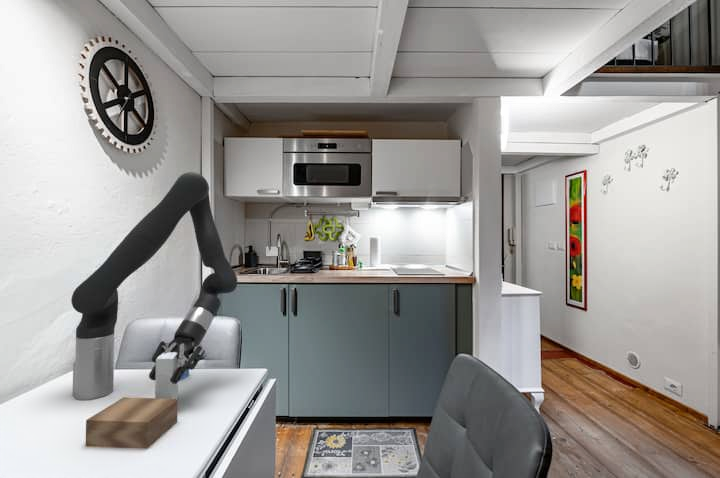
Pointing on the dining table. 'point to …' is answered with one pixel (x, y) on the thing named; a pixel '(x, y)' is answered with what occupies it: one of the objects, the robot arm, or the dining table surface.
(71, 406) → the dining table surface
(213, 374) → the dining table surface
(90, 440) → the walnut block
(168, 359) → the skincare box
